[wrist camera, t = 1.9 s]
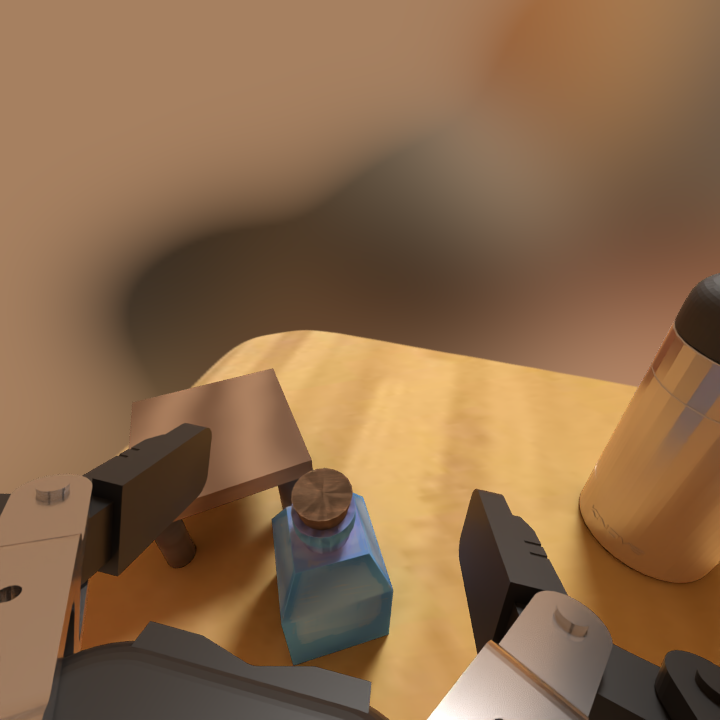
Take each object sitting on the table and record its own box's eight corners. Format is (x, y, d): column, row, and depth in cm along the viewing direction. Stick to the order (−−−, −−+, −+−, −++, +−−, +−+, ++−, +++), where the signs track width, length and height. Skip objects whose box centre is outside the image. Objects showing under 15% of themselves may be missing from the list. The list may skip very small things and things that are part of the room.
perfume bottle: (293, 665, 23) (265, 568, 16) (283, 566, 28) (257, 460, 21) (388, 634, 25) (399, 532, 18) (362, 545, 30) (363, 438, 23)
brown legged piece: (282, 425, 40) (272, 368, 36) (318, 520, 31) (311, 459, 27) (159, 461, 36) (132, 402, 32) (160, 581, 27) (122, 522, 23)
